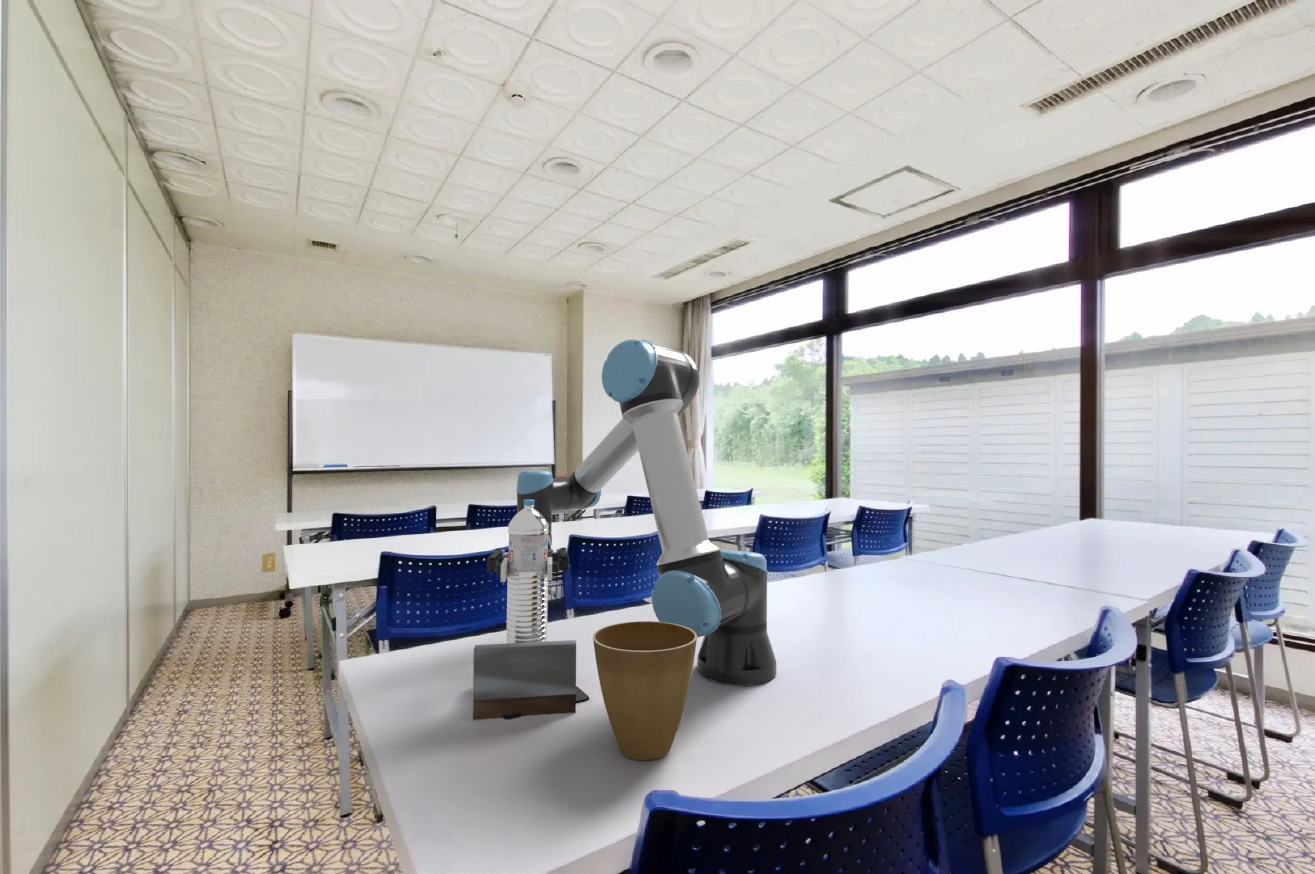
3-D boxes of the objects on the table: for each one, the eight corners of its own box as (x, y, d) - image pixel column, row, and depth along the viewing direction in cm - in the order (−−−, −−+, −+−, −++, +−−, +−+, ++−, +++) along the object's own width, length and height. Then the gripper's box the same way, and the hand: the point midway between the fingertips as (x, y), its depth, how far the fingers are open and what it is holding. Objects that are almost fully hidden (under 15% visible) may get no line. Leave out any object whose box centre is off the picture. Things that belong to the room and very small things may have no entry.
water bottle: (537, 654, 96) (539, 502, 97) (499, 650, 98) (501, 501, 98) (553, 641, 103) (555, 499, 104) (516, 638, 104) (519, 497, 105)
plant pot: (718, 753, 82) (718, 637, 82) (628, 788, 73) (629, 659, 73) (657, 714, 94) (657, 614, 94) (573, 740, 85) (574, 630, 86)
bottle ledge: (483, 685, 105) (484, 623, 106) (573, 679, 108) (573, 619, 108) (472, 720, 92) (473, 649, 92) (575, 712, 94) (576, 643, 95)
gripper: (580, 566, 120) (586, 594, 97) (481, 569, 116) (463, 598, 94) (581, 530, 120) (587, 548, 97) (482, 531, 117) (464, 551, 94)
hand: (526, 572), depth 96 cm, fingers closed on water bottle, 7 cm apart
